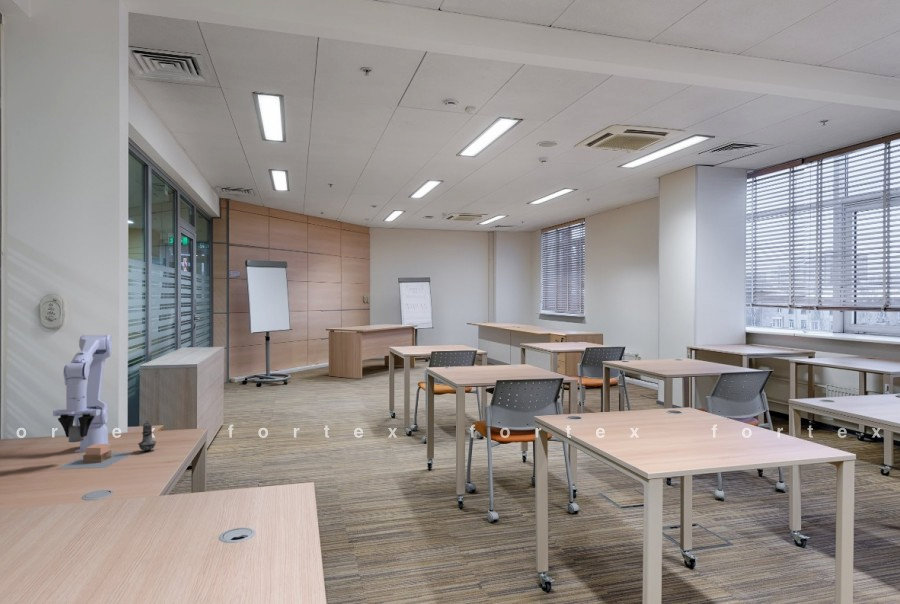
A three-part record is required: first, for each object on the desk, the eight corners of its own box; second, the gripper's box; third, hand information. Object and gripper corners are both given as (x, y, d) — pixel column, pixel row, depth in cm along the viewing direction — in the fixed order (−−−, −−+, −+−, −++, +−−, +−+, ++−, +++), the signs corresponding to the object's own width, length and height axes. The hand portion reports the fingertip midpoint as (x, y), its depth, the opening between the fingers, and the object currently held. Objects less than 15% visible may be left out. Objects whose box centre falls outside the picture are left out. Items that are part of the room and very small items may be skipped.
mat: (89, 454, 191) (89, 453, 191) (134, 453, 192) (134, 452, 192) (56, 469, 173) (56, 468, 173) (105, 468, 174) (105, 467, 174)
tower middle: (94, 451, 185) (94, 444, 185) (109, 450, 185) (109, 443, 185) (85, 455, 180) (85, 448, 180) (100, 454, 180) (100, 447, 180)
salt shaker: (142, 455, 189) (142, 422, 189) (135, 452, 193) (135, 420, 193) (159, 451, 194) (159, 419, 194) (152, 449, 198) (152, 417, 198)
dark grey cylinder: (74, 439, 182) (74, 424, 182) (87, 438, 183) (87, 424, 183) (65, 442, 178) (65, 427, 178) (78, 442, 178) (78, 427, 178)
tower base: (93, 457, 186) (93, 450, 186) (111, 457, 186) (111, 450, 186) (83, 462, 180) (83, 455, 180) (101, 462, 180) (101, 455, 180)
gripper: (46, 399, 176) (46, 439, 176) (90, 399, 177) (90, 439, 177) (61, 396, 183) (61, 434, 183) (103, 395, 184) (103, 433, 184)
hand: (76, 436), depth 180 cm, fingers closed on dark grey cylinder, 4 cm apart
